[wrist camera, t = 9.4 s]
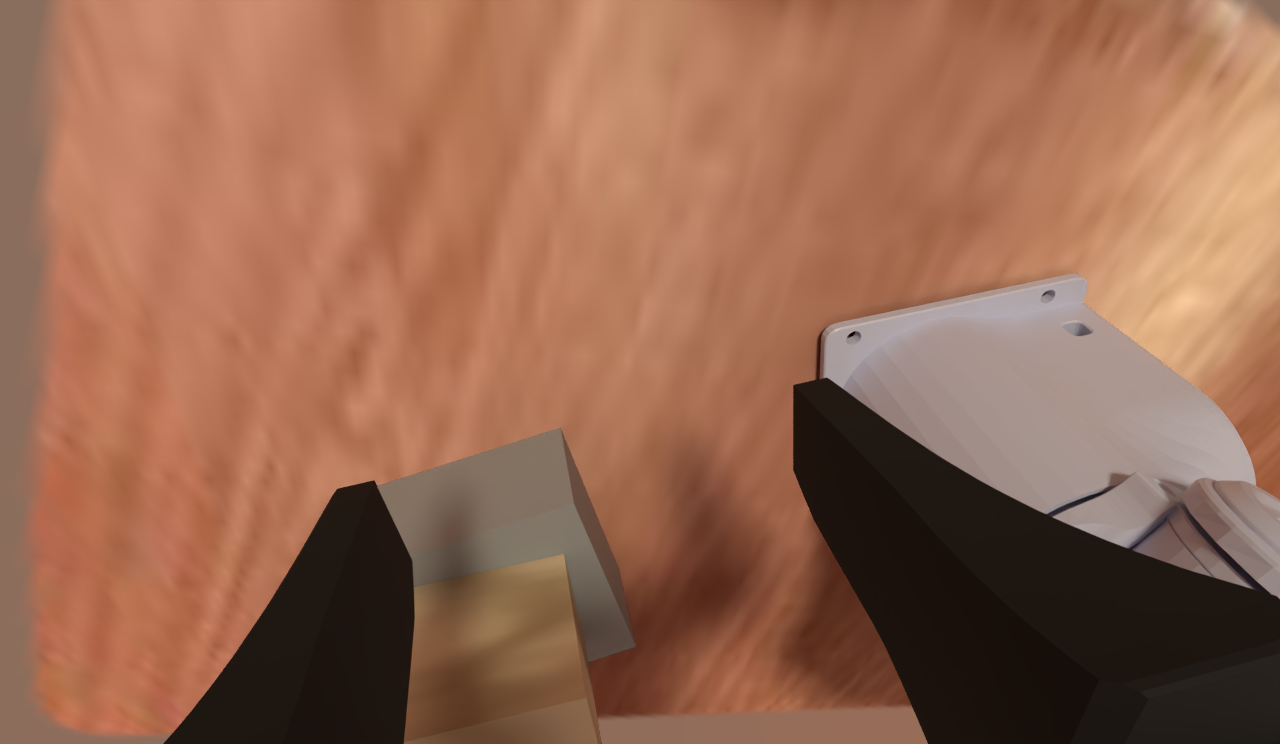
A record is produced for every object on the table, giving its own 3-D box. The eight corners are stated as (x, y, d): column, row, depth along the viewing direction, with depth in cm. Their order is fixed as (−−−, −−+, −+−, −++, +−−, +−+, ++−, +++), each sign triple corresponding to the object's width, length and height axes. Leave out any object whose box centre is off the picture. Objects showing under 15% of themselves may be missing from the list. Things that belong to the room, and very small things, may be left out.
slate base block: (559, 421, 26) (573, 503, 23) (617, 562, 31) (636, 646, 28) (336, 492, 26) (320, 585, 23) (430, 623, 31) (427, 714, 27)
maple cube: (564, 553, 24) (586, 697, 20) (585, 641, 27) (608, 782, 23) (411, 587, 23) (403, 742, 19) (450, 673, 26) (449, 823, 22)
